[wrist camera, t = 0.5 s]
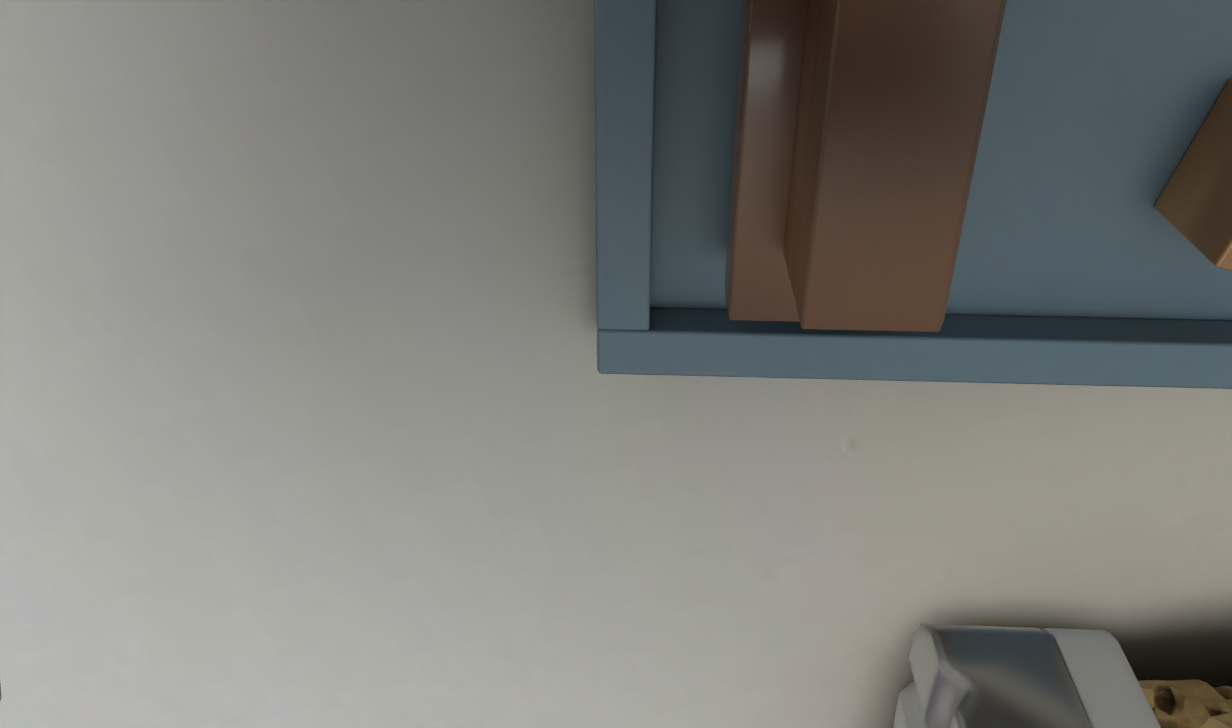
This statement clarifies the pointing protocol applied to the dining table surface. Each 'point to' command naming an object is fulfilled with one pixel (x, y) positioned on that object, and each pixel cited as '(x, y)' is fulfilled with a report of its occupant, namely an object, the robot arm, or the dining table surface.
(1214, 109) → the brown wooden cube
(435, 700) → the dining table surface
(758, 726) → the dining table surface
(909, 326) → the brush
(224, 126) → the dining table surface
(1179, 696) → the sponge
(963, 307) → the tray
